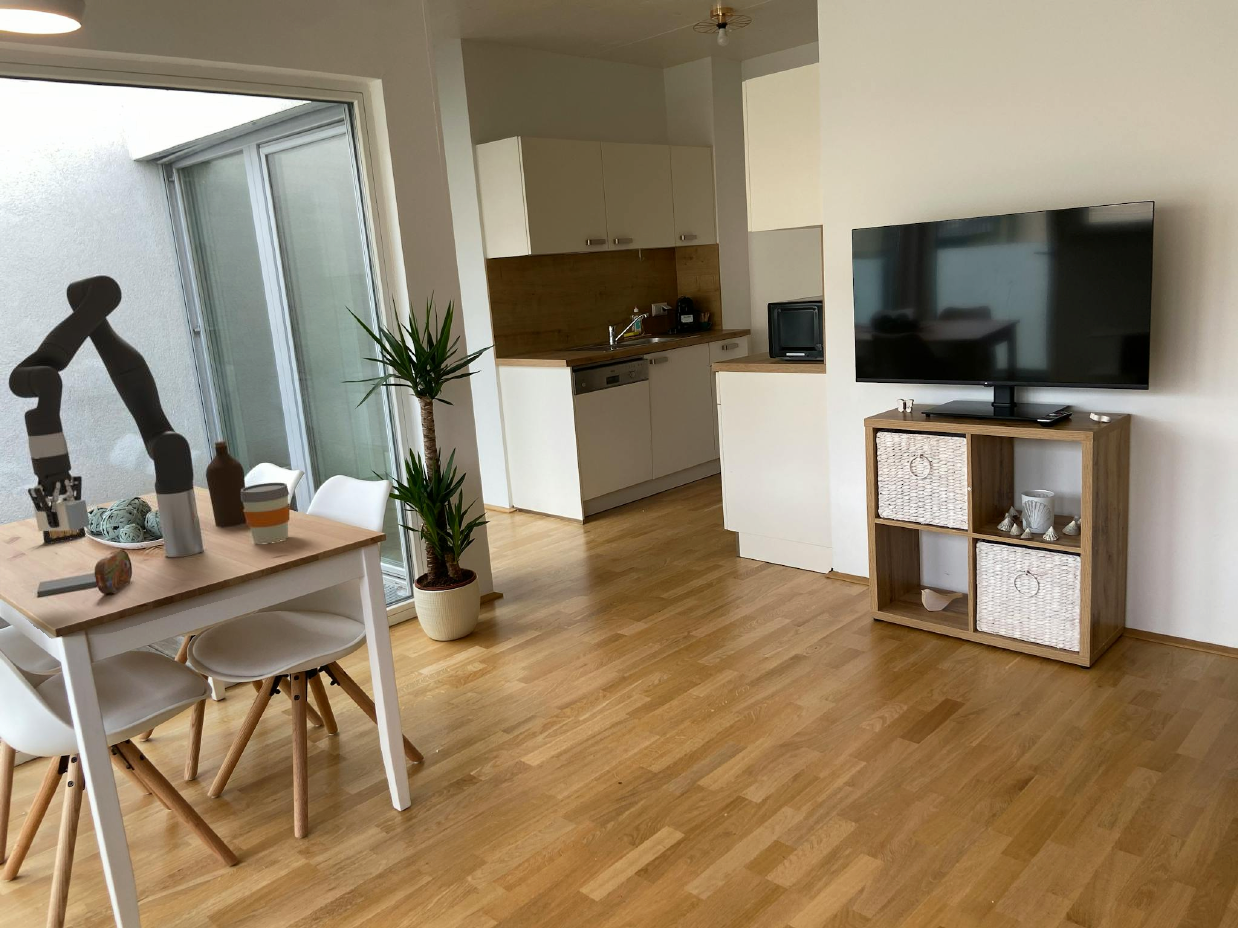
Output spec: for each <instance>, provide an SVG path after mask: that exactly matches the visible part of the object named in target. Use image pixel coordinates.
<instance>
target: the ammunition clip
mask: <svg viewBox="0 0 1238 928" xmlns="http://www.w3.org/2000/svg"><path fill="white" fill-rule="evenodd" d="M60 501H62V500H61V499H60ZM40 504H41V503H40ZM85 535H86V536H87V534H86V529H85V527H84V528H81V529H78V530H75V531H70V530H65V531H42V536H43V542H44V544H45V543H48V544H52V543H51V542H53V543H57V541H58V542H62V541H61V540H64V541H69V540H71V539H70V538H74V539H78V538H77V537H80V538H83V536H85ZM86 536H85V537H86ZM68 539H69V540H68Z"/></svg>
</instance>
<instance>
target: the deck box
mask: <svg viewBox="0 0 1238 928" xmlns="http://www.w3.org/2000/svg"><path fill="white" fill-rule="evenodd" d="M86 502H87V501H86V499H85V500H84V499H81V500H79V501H61V500H58V502H57V505H56V511H55V512H57V515H58V520H59V525H60V526H59V527H57V528H51V527H50V526H49V525H48V521H47V516H46V513H45V512H38V511H37V510H36V508H35V506H34V505H33V510H34V514H35V520H36V525H37V529H38V532H43V531H65V530H70V531H75V530H77V531H78V529H81V528H84V529H85V528H86V527H89V526H90V525H91V524H90V518H89V514H88V513H89V512H88V507H87V503H86ZM41 506H42V505H41ZM49 507H51V502H50V503H49Z"/></svg>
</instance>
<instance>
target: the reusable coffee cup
mask: <svg viewBox="0 0 1238 928" xmlns="http://www.w3.org/2000/svg"><path fill="white" fill-rule="evenodd" d="M289 495H290V492H289V488H288V485H287V483H285V482H265V483H258V484H252V485H249V486H245V488H243V489H241V501H242V502H243V505H244V508H245V509H244V514H245V518H246V521H247V522H246V526H247V527H249V529H250V532H251V537H252V540H253V543H254V544H256V543H271V544H273V543H272V542H277V541H280V540H284V539H286V538H287V537H289V521H290V503H289ZM287 539H288V538H287ZM287 539H286V540H287ZM284 541H285V540H284ZM277 543H278V542H277Z"/></svg>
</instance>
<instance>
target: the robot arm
mask: <svg viewBox="0 0 1238 928" xmlns="http://www.w3.org/2000/svg"><path fill="white" fill-rule="evenodd" d="M122 294H123V293H122V289H121V287H120V285H119V283H118V282H117V281H116V279H114V278H113V277H112V276H109V274H108V275H107V274H95V275H91V276H89V277H85V278H84V277H83V278H81V279H78V280H74V281H72V282H71V283H69V284H68V285H67V288H66V298H67V302H68V304H69V307H70V309H71V310H72V313H70V314H69V315H68V316H67V317H65V318H64V319H63V320H62V321H61V322H59V323H58V324H57V325H56V326H55V327H54V328H53V329H52V330H51V331H50V332H49V333H48V334H47V335H46V337H44V339H43V340H42V342H41V343H40V345H39V346H38V347H37V349H36V350H35V351H34V352H32V353H30V354H29V355H28V356H27V357H26V358H25V359H23V360H22V361H21V362H19V363H18V364H17V365H16V366H15V367H14V368H13V370H12V371H11V372H10V375H9V377H8V387H9V390H10V391H11V393H12V394H13V395H15V396H16V397H17V398H22V399H33V398H37V399H38V400H37V405H36V407H33V408H31V409H28V410H26V411H25V412H24V415H23V416H24V423H25V428H26V433H27V439H28V442H27V443H28V449H29V454H30V460H31V464H32V469H33V474H34V475H35V476H36V477H37V485H36V486H34V487H30V488H28V489H27V493H28V495H29V497H30V499H31V501H32V503H33V507H34V506H35V508H36V510H37V511H38V512H45V513H46V516H47V521H48V525H49V526H50V527H51V528H57V527H59V526H60V525H59V520H58V515H57V512H55V511H56V505H57V502H58V501H61V500H62V501H79V500H82V485H83V484H82V481H83V478H82V476H81V475H73V476H72V474H71V473H70V471H71V470H72V464H71V459H70V453H69V449H68V444H67V438H66V437H65V436H66V435H65V434H64V429H63V423H62V419H61V406H62V396H63V389H64V388H63V379H62V377H61V375H60V372H62V371H65V370H66V368H68V366H69V364H71V361H72V360H73V359H74V357H76V356H75V355H76V354H77V352H78V351H79V350H80V348H81V347H82V345H84V343H85V342H86V341H87V339H88V337H89V339H90V340H91V342H92V344H93V346H94V348H95V350H96V352H97V354H98V355H99V358H101V362H102V363H103V365H104V367H105V369H106V371H107V373H108V376H109V378H110V380H111V381H112V384H113V385H114V387H115V389H116V391H117V393H118V395H119V397H120V398H121V400H122V401H123V403H124V405H125V407H126V409H127V410H128V412H129V413H130V415H131V416H132V418H133V420H134V422H135V423H136V426H137V428H138V431H139V433H140V436H141V438H142V442H143V445H144V448H145V451H146V453H147V455H148V456H149V458H150V459H151V460H152V462H153V465H154V466H153V467H154V472H155V482H154V489H155V496H156V502H157V507H158V509H157V510H158V515H159V522H160V527H161V534H162V540H163V546H164V552H165V556H166V557H169V558H179V557H189V556H192V555H196V554H197V553H202V552H204V551H205V550H204V549H205V548H204V543H203V537H202V532H201V524H200V518H199V514H198V507H197V501H196V495H195V489H194V478H195V477H194V467H193V459H192V451H191V447H190V443H189V441H188V440H187V438H186V437H185V436H183V434H180V433H178V432H176V431H175V429H174V427H173V426H172V425H171V423H170V421H169V419H168V418H167V416H166V414H165V412H164V410H163V407H162V405H161V399H160V395H159V391H158V387H157V384H156V381H155V380H156V379H155V378H154V375H153V373H152V371H151V369H150V367H149V365H148V363H147V361H146V359H145V357H144V356H143V355H142V354H141V352H139V350H138V349H136V348H135V347H134V346H133V345H131V344H130V343H129V342H127V341H126V340H125V339H124V338H123V337H121V336H120V335H119V334H118V333H117V332H116V331H115V330H114V328H113V327H112V326H111V324H110V322H109V320H108V319H107V317H109V316H110V314H112V312H114V311H115V310H116V309H117V308H118V306H119V305H120V304H121V302H122V298H123V297H122V296H123V295H122ZM59 499H60V500H59ZM50 502H51V507H49V503H50ZM40 503H41V504H40ZM41 505H42V506H41Z"/></svg>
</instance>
